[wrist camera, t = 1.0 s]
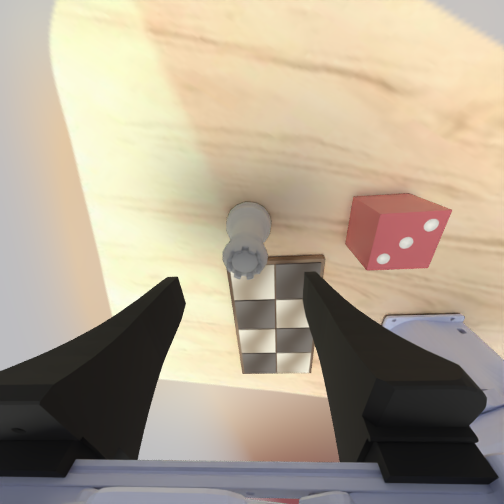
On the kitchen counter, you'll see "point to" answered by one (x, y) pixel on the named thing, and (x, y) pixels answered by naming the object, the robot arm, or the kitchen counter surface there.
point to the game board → (274, 316)
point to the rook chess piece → (247, 240)
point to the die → (395, 231)
